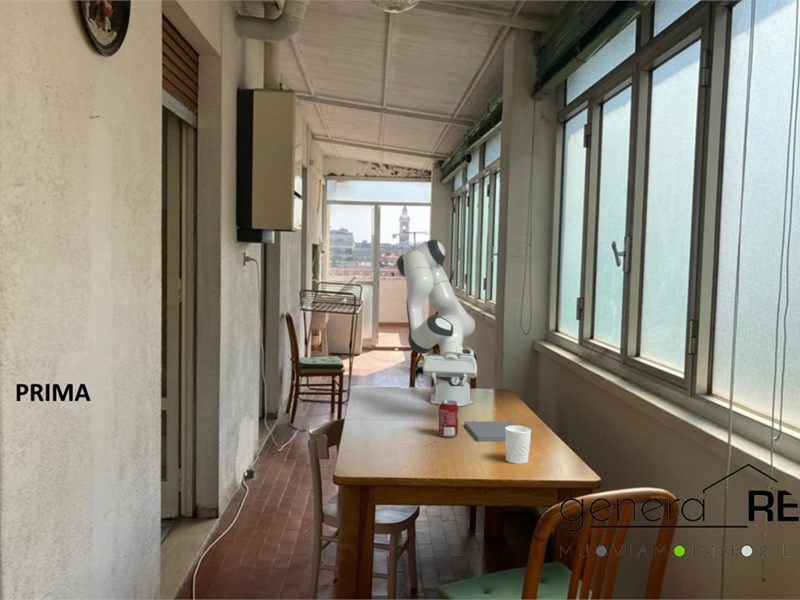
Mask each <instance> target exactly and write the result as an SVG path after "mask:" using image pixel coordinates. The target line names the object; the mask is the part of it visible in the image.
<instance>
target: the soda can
mask: <svg viewBox="0 0 800 600" xmlns="http://www.w3.org/2000/svg"><path fill="white" fill-rule="evenodd" d="M438 409H439V410H438V431H437V432H438V435H439V436H441V437H442V436H443V437H442V438H447V439H449V438H455V437H457V436H458V435H459V433H458V431H459V406H457V402H456V401H451V400H444V401H441V405H439V407H438Z"/></svg>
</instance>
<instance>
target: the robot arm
mask: <svg viewBox="0 0 800 600" xmlns="http://www.w3.org/2000/svg"><path fill="white" fill-rule="evenodd" d="M446 256H447V254H446V249H445V247H444V245H443V243H441V242H440V241H439V240H437V239H435V238H434V239H431V240H428V241H426V242H424V243H421V244H419V245H417V246H415V247H414V248H411V249H410V250H408V251H407V252H405V253H404V254H401V255H400V256H399V257H398V258H397V260H396V267H397V270H398V272H399V273H400V274H401V276H402V277H405V282H406V283H405V284H406V302H405V303H406V313H407V322H408V328H409V329H408V331H409V333H408V338H407V341H408V344H409V346H410V348H411V349H412V350H413V351H414V352H415V353H418V354H424V357H423V359H422V360H423V369H422V373H423V375H424V376H425V377H431V378H432V380H433V382H434V385H433V386H431V387H432V389H431V391H432V392H433V393H431V394H430V402H429V403H430V404H436V405H439V406H440V405H441V401H444V400H451V401H456V402H457V406H458V407H463V406H468V405H471V404H473V403H474V400H472V399H471V396H470V395H471V394H470V391H471V389H470V384H469V383H468V382H467V381H468V379H475V378H476V377H477V376H478V365H477V361H476V358H475V353H474V351H473V350H472V349H469V348H466V347H464V346H463V343H464V339H465V338H467V337H469V336H470V335H471V334H473V333H474V331H475V329H476V322H475V320H474V318H473V316H471V315H470V314H469V313H467V311H466V310H465V308H464V307H463V305H462V304H461V303H460V301H459V300H458V298H457V296H456V293H455V291H454V289H453V287H452V284H451V283H450V280H449V277H448V274H446V272H445V270H444V268H443V265H444V263H445V260H446ZM427 299H429V301H430V304H431V306H432V308H433V309H434V310H435V311H437V312H438V313H439V315H435V314H432V315H430V316H428V317H427V318H426V319H425V320H424V315H423V309H424V305H425V303H426V301H427ZM437 344H438V347H439V353H429V352H430V351H431V350H432V349H433V347H434V346H436V345H437ZM437 377H438V378H437Z"/></svg>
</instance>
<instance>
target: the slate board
mask: <svg viewBox="0 0 800 600" xmlns="http://www.w3.org/2000/svg"><path fill="white" fill-rule="evenodd" d="M507 426H517V425H516V424H515V423H513V421H464V427H465V428H466V429H467V431H470V432H469V433H470V434H471V435H472V436H473V437H474V438H475V440H476V441H477V442H505V428H506V427H507Z"/></svg>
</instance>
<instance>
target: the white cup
mask: <svg viewBox="0 0 800 600" xmlns="http://www.w3.org/2000/svg"><path fill="white" fill-rule="evenodd" d="M531 435H532V429H531V428H529V427H527V426H522V425H516V426H507V427H506V428H505V441H504V444H505V448H504V449H505V460H506V461H507V462H508V463H510V464H515V465H516V464H517V465H522V464H527V463H528V462H529V454H530V448H531V437H532V436H531Z"/></svg>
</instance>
